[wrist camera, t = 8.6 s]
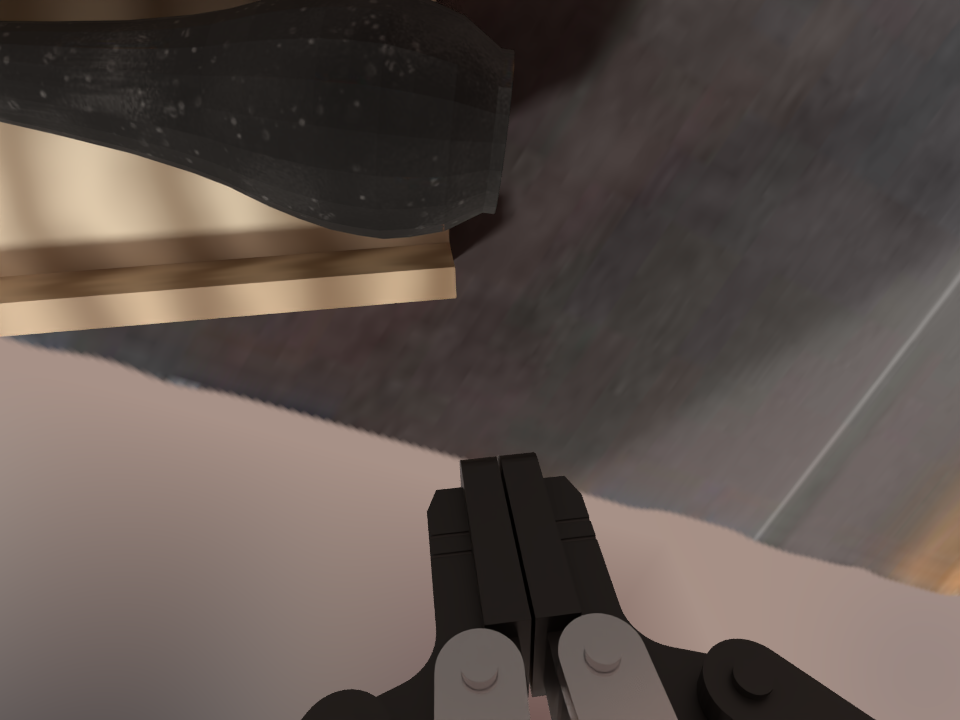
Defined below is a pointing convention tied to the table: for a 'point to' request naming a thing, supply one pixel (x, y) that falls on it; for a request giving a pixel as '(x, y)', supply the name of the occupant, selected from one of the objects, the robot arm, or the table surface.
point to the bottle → (285, 104)
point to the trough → (171, 230)
